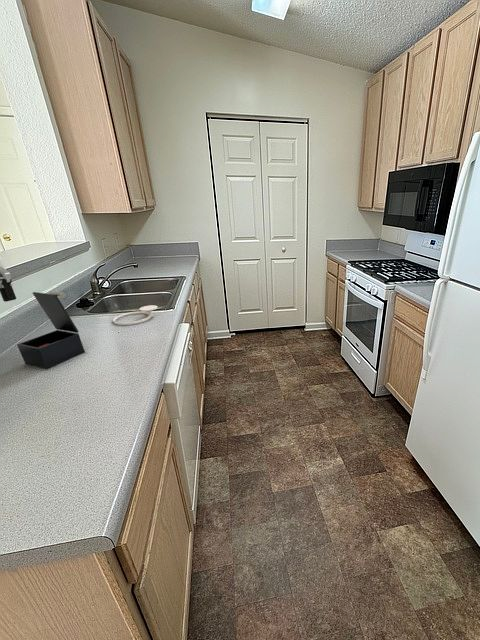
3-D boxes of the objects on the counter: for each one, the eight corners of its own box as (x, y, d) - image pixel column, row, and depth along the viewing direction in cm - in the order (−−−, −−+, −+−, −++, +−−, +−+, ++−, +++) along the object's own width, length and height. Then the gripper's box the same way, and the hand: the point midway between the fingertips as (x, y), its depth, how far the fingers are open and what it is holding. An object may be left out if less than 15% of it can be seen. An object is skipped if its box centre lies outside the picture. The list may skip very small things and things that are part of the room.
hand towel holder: (111, 308, 160) (156, 302, 167) (113, 316, 162) (158, 310, 169) (109, 318, 146) (159, 311, 154) (112, 327, 148) (161, 320, 156)
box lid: (54, 295, 112) (67, 288, 116) (32, 292, 116) (45, 286, 119) (77, 332, 121) (88, 325, 125) (56, 329, 125) (67, 322, 129)
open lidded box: (47, 369, 113) (38, 348, 110) (25, 364, 117) (16, 344, 114) (85, 352, 125) (78, 333, 122) (64, 348, 129) (57, 329, 126)
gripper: (-59, 240, 93) (-32, 299, 100) (-22, 241, 87) (4, 305, 95) (-27, 237, 99) (-4, 293, 107) (10, 239, 94) (31, 298, 101)
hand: (0, 299), depth 101 cm, fingers open, 9 cm apart
